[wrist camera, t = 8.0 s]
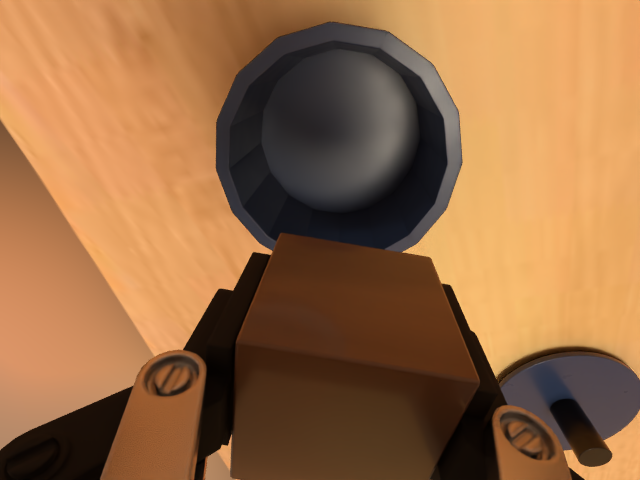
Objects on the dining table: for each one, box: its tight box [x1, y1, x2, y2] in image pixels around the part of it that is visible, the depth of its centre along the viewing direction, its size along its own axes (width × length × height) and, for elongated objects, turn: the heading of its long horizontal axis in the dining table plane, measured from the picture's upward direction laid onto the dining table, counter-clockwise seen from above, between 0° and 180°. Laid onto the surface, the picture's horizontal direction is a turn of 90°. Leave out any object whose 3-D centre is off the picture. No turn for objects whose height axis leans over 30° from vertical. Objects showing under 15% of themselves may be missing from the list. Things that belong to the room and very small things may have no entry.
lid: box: [499, 352, 640, 467], centre depth 34 cm, size 15×15×6 cm
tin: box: [216, 22, 462, 252], centre depth 23 cm, size 14×14×8 cm
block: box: [230, 233, 480, 480], centre depth 9 cm, size 4×4×4 cm
